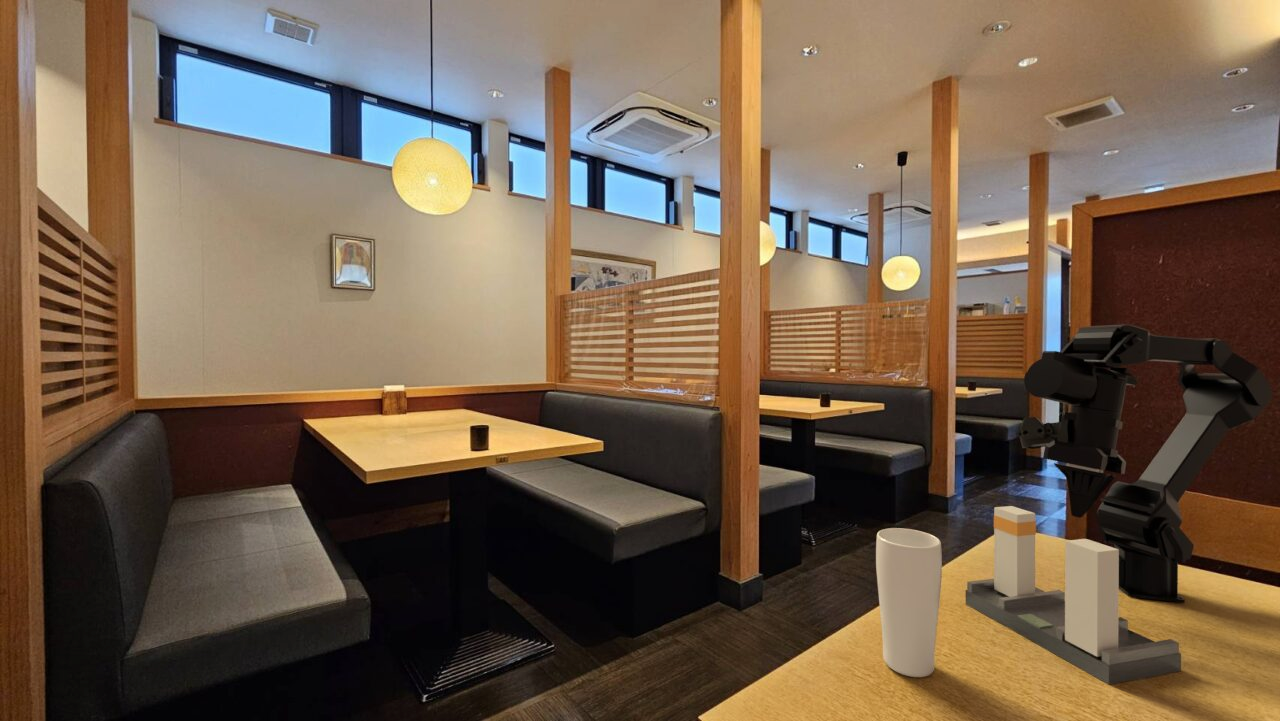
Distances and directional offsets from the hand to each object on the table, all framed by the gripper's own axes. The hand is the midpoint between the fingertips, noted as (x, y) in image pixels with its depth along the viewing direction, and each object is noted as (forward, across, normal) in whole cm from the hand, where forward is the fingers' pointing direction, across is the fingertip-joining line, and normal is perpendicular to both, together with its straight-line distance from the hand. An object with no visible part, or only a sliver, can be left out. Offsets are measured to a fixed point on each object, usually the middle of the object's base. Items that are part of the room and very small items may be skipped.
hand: (1076, 516), depth 77 cm
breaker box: (+14, +10, +2) cm, 18 cm away
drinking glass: (+19, +32, -7) cm, 38 cm away
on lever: (+13, +17, +6) cm, 22 cm away
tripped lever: (+12, +8, -4) cm, 15 cm away
